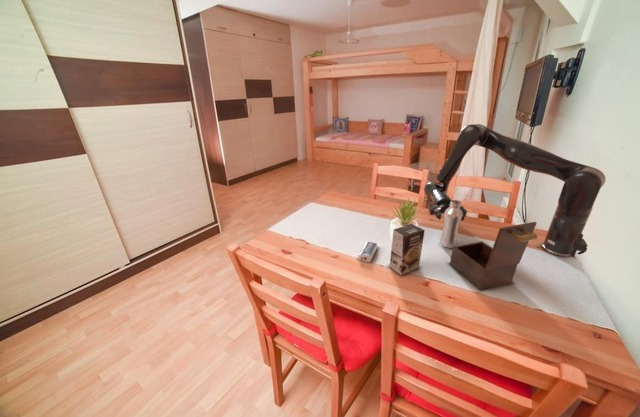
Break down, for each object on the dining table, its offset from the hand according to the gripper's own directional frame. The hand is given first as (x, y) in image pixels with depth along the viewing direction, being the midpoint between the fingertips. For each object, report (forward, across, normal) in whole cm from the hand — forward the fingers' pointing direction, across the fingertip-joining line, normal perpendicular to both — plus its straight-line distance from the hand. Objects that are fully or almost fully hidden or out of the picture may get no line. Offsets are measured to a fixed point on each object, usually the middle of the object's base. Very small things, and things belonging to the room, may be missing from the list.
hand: (451, 218), depth 107 cm
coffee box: (+20, -19, +12) cm, 30 cm away
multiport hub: (+13, -33, +12) cm, 37 cm away
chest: (+19, +6, +12) cm, 24 cm away
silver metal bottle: (+2, 0, +12) cm, 12 cm away
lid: (+26, +10, -4) cm, 28 cm away
